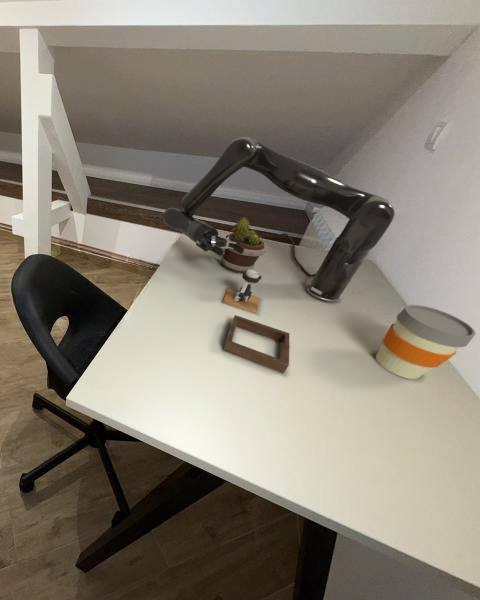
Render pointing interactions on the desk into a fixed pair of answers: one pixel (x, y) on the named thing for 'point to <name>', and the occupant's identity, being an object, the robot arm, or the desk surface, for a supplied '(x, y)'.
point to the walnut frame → (255, 355)
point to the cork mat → (246, 305)
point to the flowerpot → (251, 251)
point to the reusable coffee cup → (422, 341)
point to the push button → (247, 284)
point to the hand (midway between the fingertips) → (232, 252)
